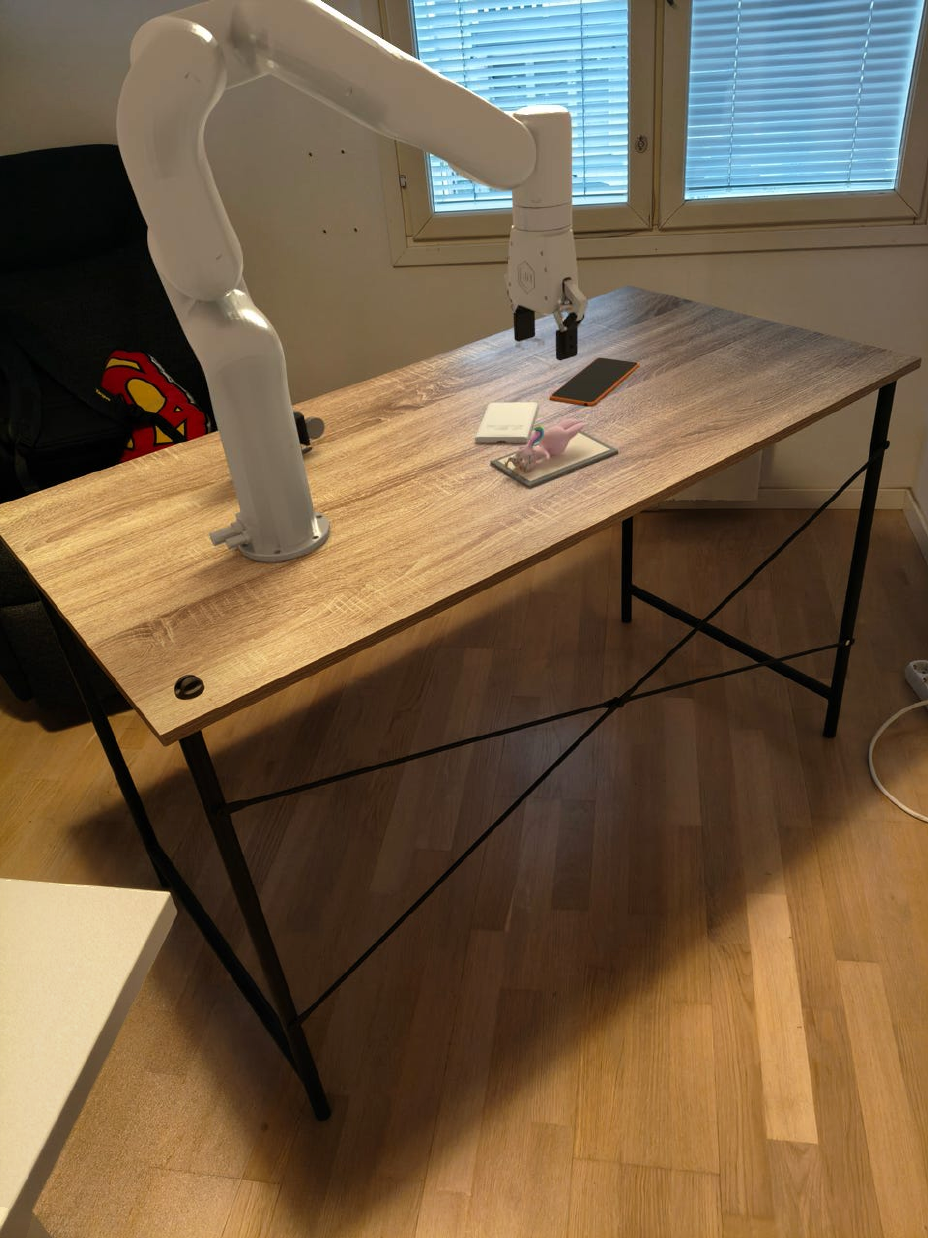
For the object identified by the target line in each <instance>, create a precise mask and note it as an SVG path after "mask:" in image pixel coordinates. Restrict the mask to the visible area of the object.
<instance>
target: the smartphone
mask: <svg viewBox="0 0 928 1238" xmlns="http://www.w3.org/2000/svg"><path fill="white" fill-rule="evenodd" d="M639 365H640V363H639V362H637V361H630V360H622V359H614V358H608V357H601V356H600V357H596V358H595V359H594V360H593V361H591V362H590V363H589V364H587V365H586V366H585V367H584V368H583V369H581V370H580V371H579V372H578V373H576V374H575V375H573V377H571V378H570V379H569V380H568V381H567V382H565V383H564V384H563V385H561V386H560V387H558V389H556V390H555V391H553V392H552V393H551V394H550V395H549V399H550V400H551V401H556V402H557V401H558V402H562V403H569V404H576V405H582V406H587V407H594V406H595V405H597V404H598V403H599V402H600V401H601V400H603V398H604V397H606V396H607V395H608V394H609V393H610V392H612V390H614V389H615V388H616V387H617V386H618V385H620V384H621V383H622V382H623V381H624V380H625V379H626V378H627V377H630V375H631V374H632V373H633V372H634V371H636V370H637V369H638V368H639V367H640V366H641V365H640V366H639ZM637 367H638V368H637ZM636 368H637V369H636Z"/></svg>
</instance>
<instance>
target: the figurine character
mask: <svg viewBox="0 0 928 1238" xmlns="http://www.w3.org/2000/svg"><path fill="white" fill-rule="evenodd" d="M292 410H293V409H292ZM293 415H294V420H295V424H296V429H297V433H298V438H299V442H300V447H301V452H302V454H303V453H305V452H308V451H310V450H312V449H313V446H310V445H311V441H310V440H314V441H315V440H318V439H319V438H320V437H321V436H322V435H323V434H324V431H325V422H324V420H323V419H321V418H320V417H317V416H312V415H311V416H308V417H306V418H305V415H304V414H303V413H302V412H301V411H298V410H293ZM302 445H304V446H307V447H305V448H303V449H302Z"/></svg>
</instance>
